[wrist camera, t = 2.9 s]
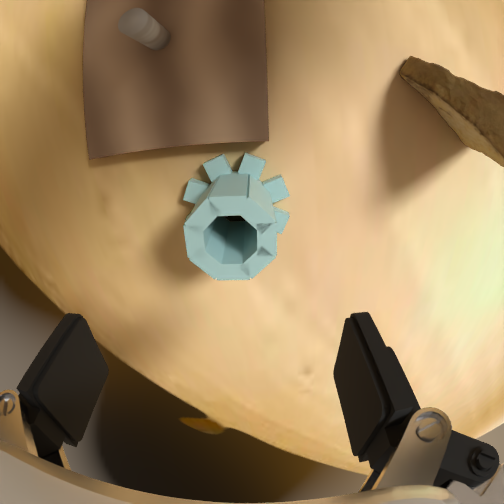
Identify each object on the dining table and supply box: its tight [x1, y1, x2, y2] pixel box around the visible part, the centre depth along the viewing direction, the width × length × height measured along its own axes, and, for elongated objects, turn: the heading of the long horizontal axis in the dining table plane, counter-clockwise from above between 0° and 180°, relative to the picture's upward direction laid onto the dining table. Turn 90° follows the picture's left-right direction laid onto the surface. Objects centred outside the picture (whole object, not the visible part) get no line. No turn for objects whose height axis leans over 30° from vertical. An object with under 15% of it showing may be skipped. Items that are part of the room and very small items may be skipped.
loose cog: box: [183, 153, 290, 280], centre depth 19 cm, size 8×8×7 cm
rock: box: [400, 56, 504, 167], centre depth 15 cm, size 11×9×10 cm
